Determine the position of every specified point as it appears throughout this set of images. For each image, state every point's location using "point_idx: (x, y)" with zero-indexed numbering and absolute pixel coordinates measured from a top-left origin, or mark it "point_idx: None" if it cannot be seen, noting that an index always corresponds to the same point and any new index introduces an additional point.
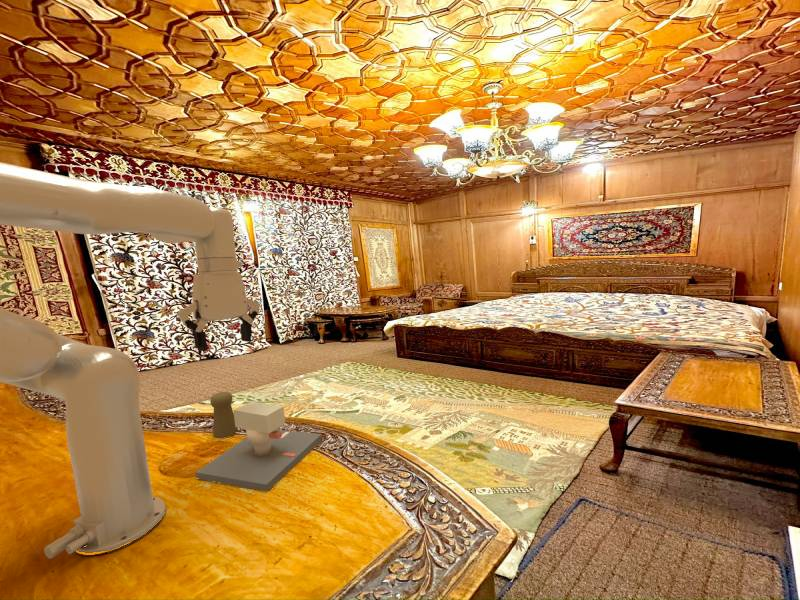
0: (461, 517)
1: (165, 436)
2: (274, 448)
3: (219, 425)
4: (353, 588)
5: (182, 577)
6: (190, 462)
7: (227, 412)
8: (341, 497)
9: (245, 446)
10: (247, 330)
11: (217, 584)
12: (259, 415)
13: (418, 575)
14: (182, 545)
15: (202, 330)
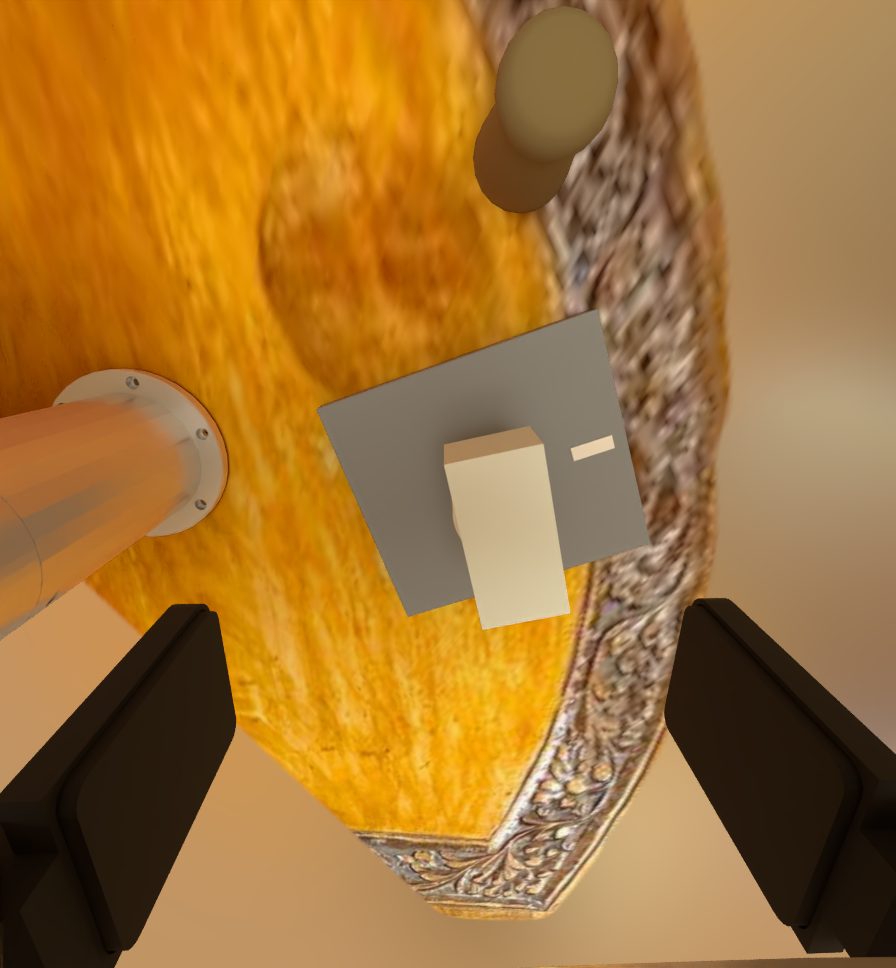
0: (546, 874)
1: None
2: None
3: (493, 172)
4: (367, 839)
5: None
6: (342, 281)
7: (540, 170)
8: (484, 728)
9: (480, 397)
10: (738, 844)
11: (248, 719)
12: (475, 597)
13: (429, 877)
14: (230, 609)
15: (75, 961)
